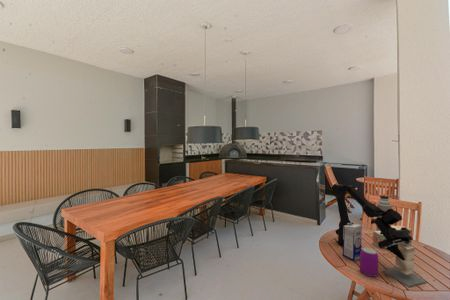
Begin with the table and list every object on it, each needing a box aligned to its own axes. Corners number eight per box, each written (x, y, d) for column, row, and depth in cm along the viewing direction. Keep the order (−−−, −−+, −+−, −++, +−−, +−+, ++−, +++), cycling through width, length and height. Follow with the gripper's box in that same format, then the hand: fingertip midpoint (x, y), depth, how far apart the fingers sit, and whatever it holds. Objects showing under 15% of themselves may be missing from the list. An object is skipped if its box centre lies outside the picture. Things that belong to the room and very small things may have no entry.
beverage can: (356, 270, 110) (357, 248, 109) (365, 266, 113) (366, 245, 112) (371, 279, 103) (372, 255, 102) (381, 275, 106) (381, 252, 105)
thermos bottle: (392, 235, 151) (393, 197, 149) (386, 237, 147) (388, 198, 146) (380, 230, 158) (381, 194, 156) (374, 233, 154) (375, 195, 153)
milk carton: (353, 261, 118) (354, 227, 117) (342, 255, 124) (343, 222, 123) (361, 258, 121) (362, 224, 120) (349, 252, 127) (350, 220, 126)
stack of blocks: (380, 249, 131) (380, 230, 131) (372, 244, 137) (373, 226, 137) (411, 248, 133) (412, 229, 132) (402, 243, 139) (403, 225, 139)
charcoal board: (408, 287, 97) (408, 285, 97) (383, 271, 108) (383, 270, 108) (426, 282, 100) (426, 281, 100) (400, 268, 112) (400, 266, 111)
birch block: (395, 268, 106) (396, 243, 105) (401, 266, 107) (403, 242, 107) (406, 274, 101) (407, 248, 100) (413, 272, 103) (414, 247, 102)
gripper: (384, 224, 104) (409, 257, 94) (409, 220, 110) (434, 250, 100) (368, 233, 112) (389, 264, 102) (392, 228, 118) (414, 257, 108)
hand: (407, 259), depth 103 cm, fingers closed on birch block, 5 cm apart
